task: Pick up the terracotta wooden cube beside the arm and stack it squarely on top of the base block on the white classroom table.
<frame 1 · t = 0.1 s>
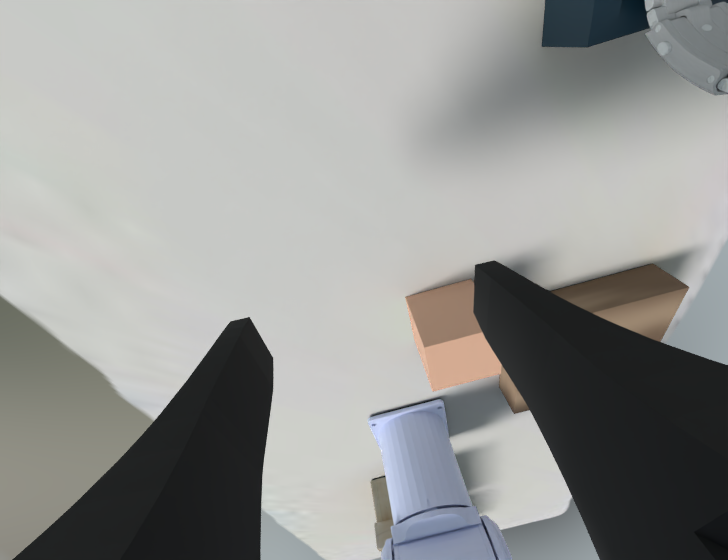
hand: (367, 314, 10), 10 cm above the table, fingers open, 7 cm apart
cube: (440, 310, 25), on the table
base block: (565, 333, 29), on the table
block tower: (412, 500, 50), on the table
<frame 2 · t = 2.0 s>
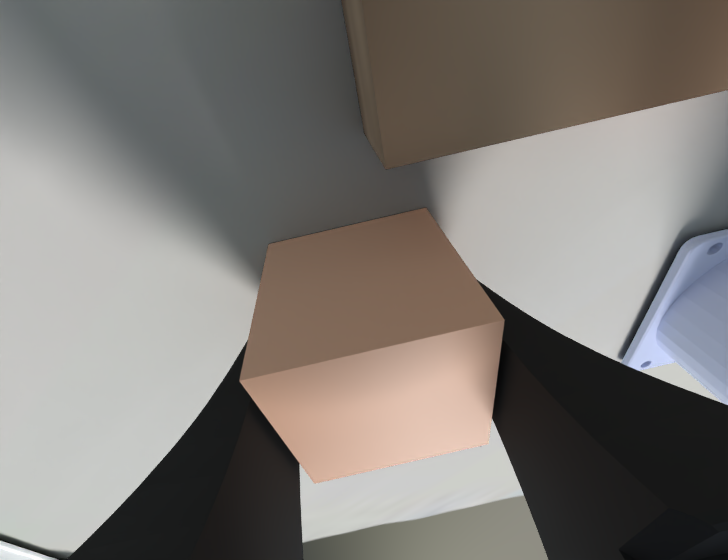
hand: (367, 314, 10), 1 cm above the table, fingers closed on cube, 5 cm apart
cube: (362, 287, 11), on the table, touching gripper
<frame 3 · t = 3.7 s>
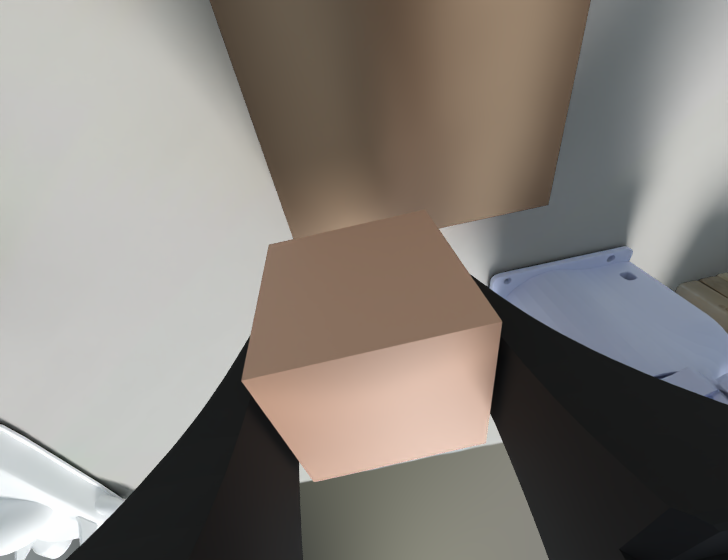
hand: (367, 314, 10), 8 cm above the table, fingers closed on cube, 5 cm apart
cube: (361, 287, 11), point 7 cm above the table, touching gripper
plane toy: (40, 468, 28), on the table
base block: (398, 78, 14), on the table
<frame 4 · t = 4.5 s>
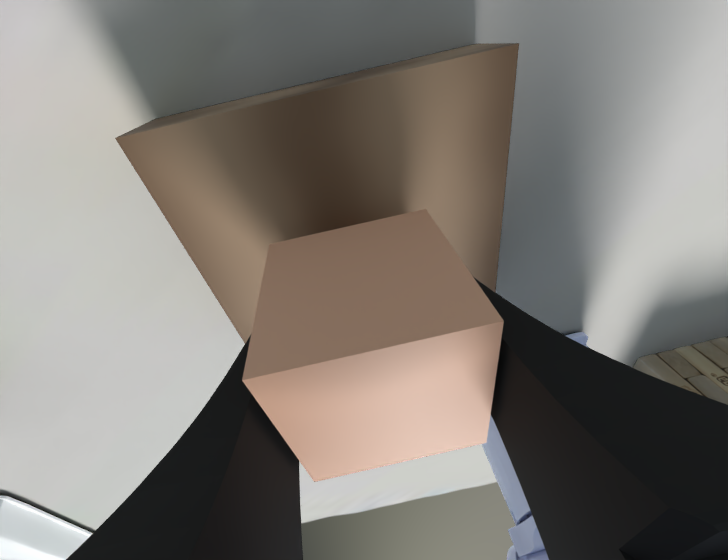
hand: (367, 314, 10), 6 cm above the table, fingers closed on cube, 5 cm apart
cube: (361, 287, 11), point 5 cm above the table, touching gripper
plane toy: (43, 524, 30), on the table
base block: (349, 225, 15), on the table
when the fingers open (5 cm above the table, at t = 5.1 s): cube stays where it is, resting on base block.
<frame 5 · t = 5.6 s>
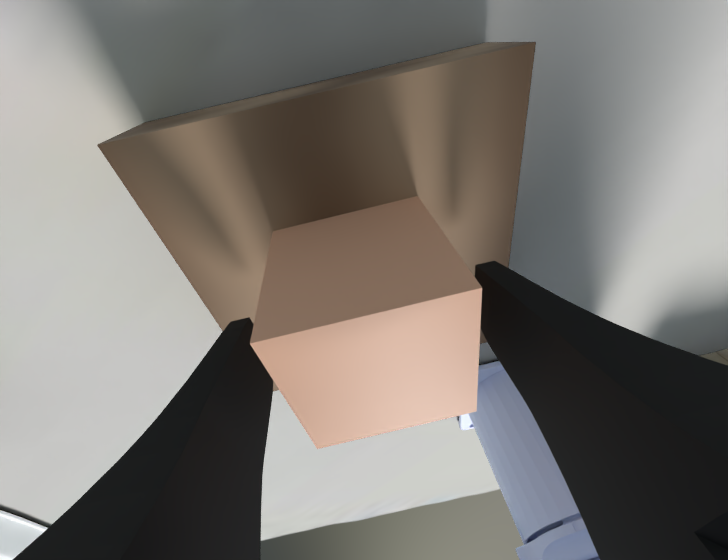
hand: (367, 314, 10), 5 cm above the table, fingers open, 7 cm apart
cube: (360, 272, 12), point 3 cm above the table, touching base block
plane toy: (37, 535, 30), on the table
base block: (350, 233, 14), on the table
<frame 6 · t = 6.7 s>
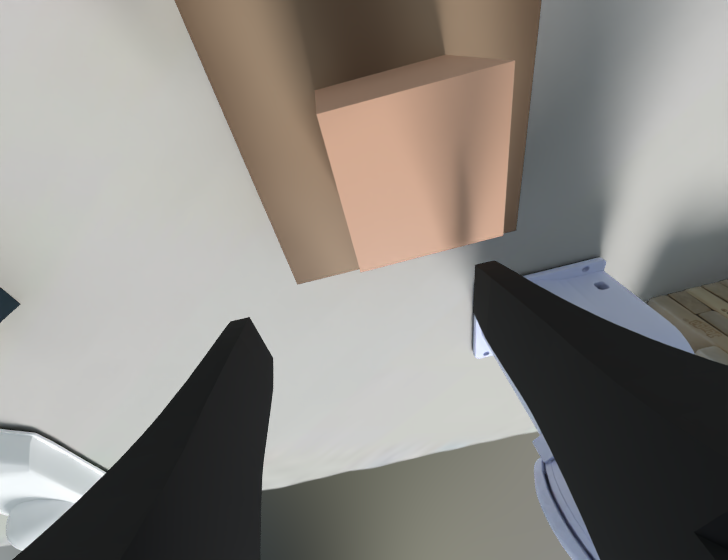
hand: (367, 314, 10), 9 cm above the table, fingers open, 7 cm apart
cube: (390, 142, 13), point 3 cm above the table, touching base block
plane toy: (71, 471, 31), on the table
base block: (377, 126, 16), on the table
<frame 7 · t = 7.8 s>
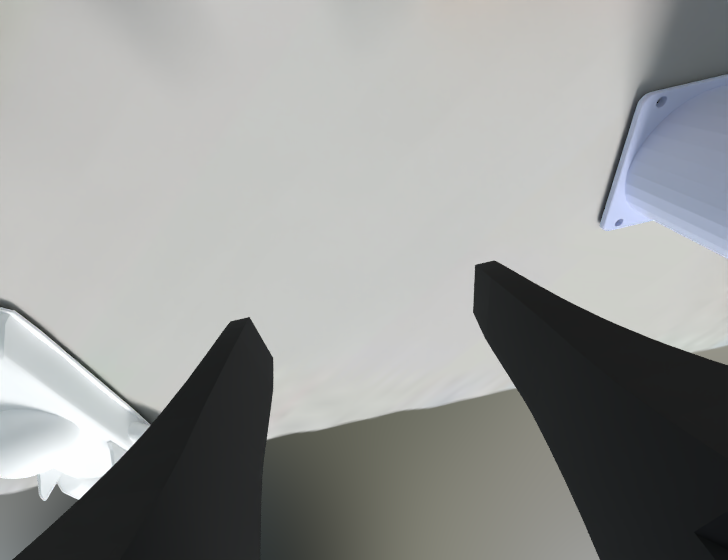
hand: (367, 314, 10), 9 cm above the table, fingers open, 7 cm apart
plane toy: (64, 387, 24), on the table
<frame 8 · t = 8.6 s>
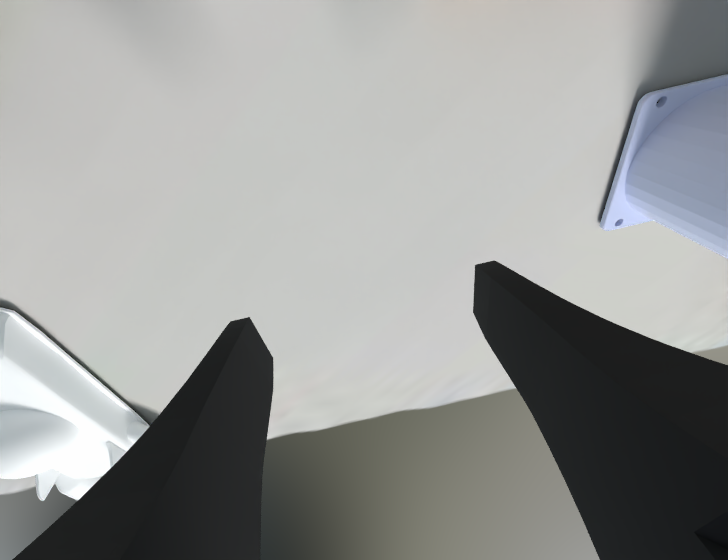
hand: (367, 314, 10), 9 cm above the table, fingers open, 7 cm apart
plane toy: (62, 387, 24), on the table
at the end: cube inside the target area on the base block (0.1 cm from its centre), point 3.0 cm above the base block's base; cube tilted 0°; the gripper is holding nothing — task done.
